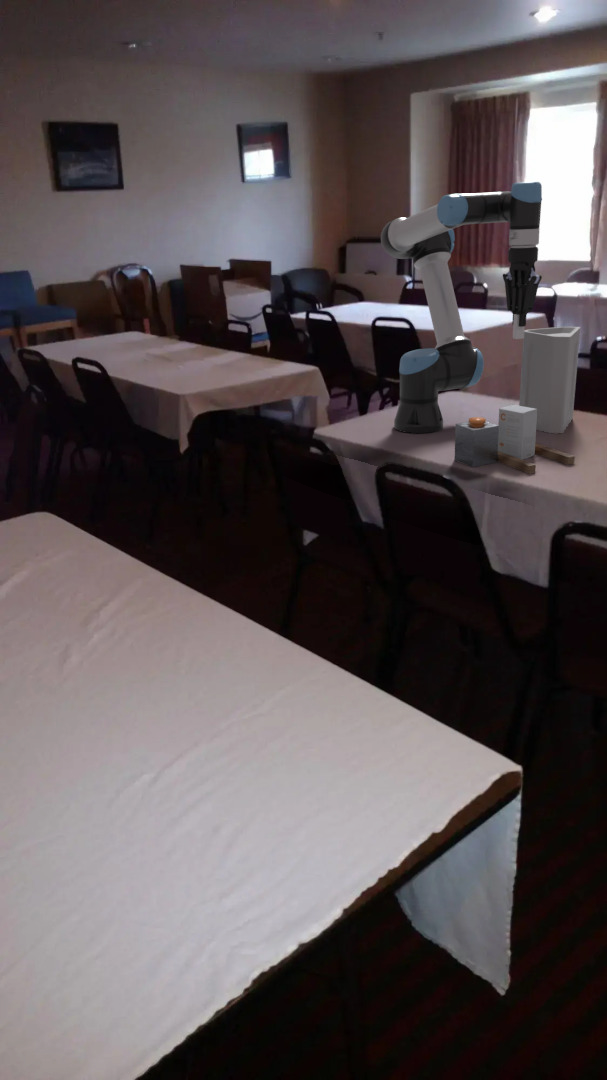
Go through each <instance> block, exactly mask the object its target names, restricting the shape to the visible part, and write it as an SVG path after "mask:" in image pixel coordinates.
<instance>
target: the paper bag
mask: <svg viewBox="0 0 607 1080" xmlns="http://www.w3.org/2000/svg"><path fill="white" fill-rule="evenodd" d="M580 334H581V326H559V327H558V326H555V327H546V328H545V327H543V328H534V329H532V328H531V329H525V330H524V338H523V339H522V351H521V353H522V354H521V369H520V371H521V372H520V384H519V385H520V387H519V388H520V389H519V400H518V401H519V404H518V406H524V407H529V408H535V409H537V424H536V431H540V432H543V431H544V433H547V432H548V433H547V434H558V433H562V434H564V433H565V431H564V430H566V429H567V428H568V426H569V425H570V424H569V423H571V422H572V421H571V420H573V419H574V408H575V407H574V406H575V398H576V397H575V396H576V395H575V394H576V386H577V385H576V383H577V375H578V373H577V372H578V362H579V350H580V340H581V339H580V336H581V335H580ZM568 424H569V425H568ZM566 427H567V428H566Z"/></svg>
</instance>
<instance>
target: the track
mask: <svg viewBox="0 0 607 1080" xmlns="http://www.w3.org/2000/svg"><path fill="white" fill-rule="evenodd" d="M535 455H539V456H542V457H545V458H547V459H550V460H553V459H554V460H553V461H556V462H559V463H562V464H565V465H569V464H570V465H573V463H574V464H575V455H572V454H569V453H567V452H563V451H560V450H558V449H555V448H552V447H550V446H549V447H548V446H546V445H542V444H540V443H537V442H535ZM497 463H500V464H503V465H506V466H508V467H511V468H513V469H516V470H519V471H522V472H525V473H526V474H533V473H536V464H535V463H532V462H530V461H527V460H525V459H523V460H522V459H519V458H516V457H513V456H511V455H508V454H505V453H502V452H500V451H498V455H497Z"/></svg>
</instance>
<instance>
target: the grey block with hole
mask: <svg viewBox="0 0 607 1080" xmlns="http://www.w3.org/2000/svg"><path fill="white" fill-rule="evenodd" d="M454 427H455V429H454V431H455V434H454V437H455V438H454V461H456V462H458V461H459V463H462V464H463V465H466V466H468V467H471V468H477V467H480V466H485V465H491V464H495V463H498V461H497V455H498V435H499V425H498V424H495V423H491V422H489V421H486V423H484V424H483V426H481V427H473V426H471V423H469V421H463V422H459V423H455V426H454Z"/></svg>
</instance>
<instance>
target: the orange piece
mask: <svg viewBox="0 0 607 1080" xmlns="http://www.w3.org/2000/svg"><path fill="white" fill-rule="evenodd" d="M468 422H469V423H471V426H473V427H481V426H483V424H484V423H486V422H487V419H486V418H485V417H481V416H480V417H479V416H476V417H474V416H473V417H469V418H468Z"/></svg>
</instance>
